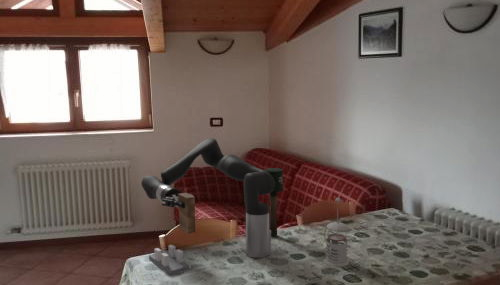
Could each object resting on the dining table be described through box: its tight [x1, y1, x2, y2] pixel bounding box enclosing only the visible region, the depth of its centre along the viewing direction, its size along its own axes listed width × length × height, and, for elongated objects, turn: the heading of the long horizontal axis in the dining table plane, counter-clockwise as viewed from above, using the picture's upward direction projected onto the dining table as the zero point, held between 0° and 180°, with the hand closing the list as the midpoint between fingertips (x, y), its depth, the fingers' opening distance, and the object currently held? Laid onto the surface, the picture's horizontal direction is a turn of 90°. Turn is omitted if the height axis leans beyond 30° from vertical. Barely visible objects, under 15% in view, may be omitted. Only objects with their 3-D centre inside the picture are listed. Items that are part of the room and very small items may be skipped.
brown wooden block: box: [178, 192, 196, 235], centre depth 175 cm, size 3×7×14 cm, turn 36°
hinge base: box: [148, 244, 191, 276], centre depth 172 cm, size 8×18×6 cm, turn 36°
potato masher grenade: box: [264, 167, 284, 238], centre depth 200 cm, size 8×9×30 cm
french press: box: [323, 197, 350, 267], centre depth 173 cm, size 10×12×25 cm
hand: (188, 204), depth 173 cm, fingers closed on brown wooden block, 3 cm apart
